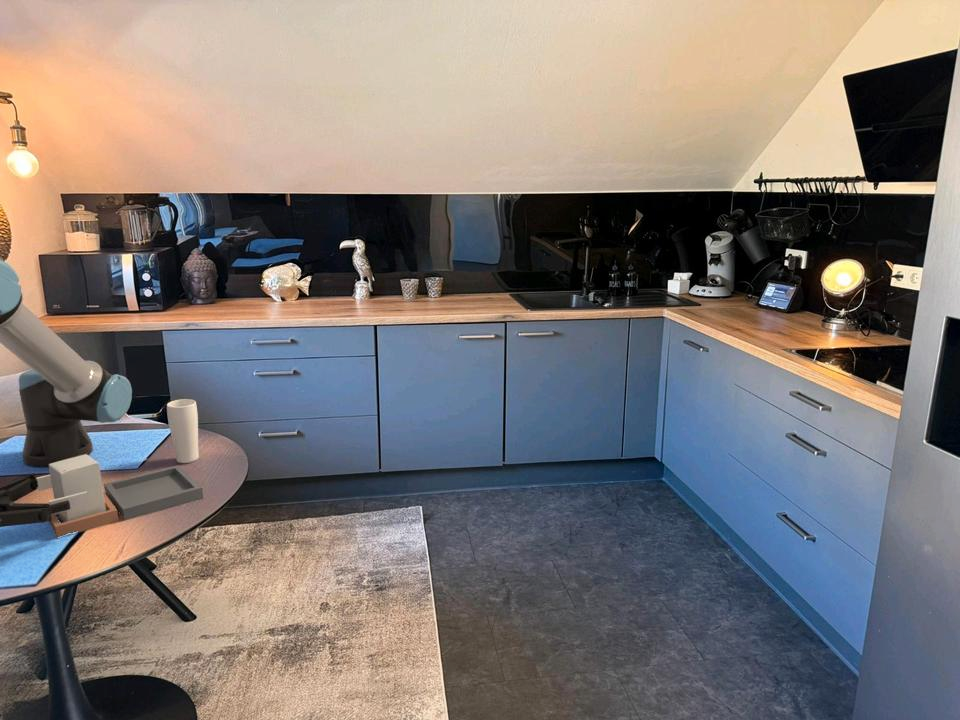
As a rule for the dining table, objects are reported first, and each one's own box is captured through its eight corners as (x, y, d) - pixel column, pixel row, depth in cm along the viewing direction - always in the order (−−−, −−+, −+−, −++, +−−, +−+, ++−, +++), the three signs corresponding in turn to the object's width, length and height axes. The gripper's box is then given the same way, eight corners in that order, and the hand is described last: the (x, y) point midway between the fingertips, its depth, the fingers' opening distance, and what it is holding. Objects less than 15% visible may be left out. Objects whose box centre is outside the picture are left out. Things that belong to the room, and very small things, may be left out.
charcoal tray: (105, 494, 152) (103, 483, 152) (179, 474, 162) (178, 465, 162) (124, 520, 141) (122, 509, 140) (203, 497, 151) (202, 487, 150)
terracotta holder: (46, 518, 141) (44, 507, 141) (105, 502, 148) (103, 491, 148) (57, 538, 133) (55, 527, 133) (118, 521, 140) (117, 510, 140)
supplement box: (108, 519, 141) (100, 462, 138) (68, 532, 136) (58, 473, 133) (95, 508, 146) (87, 452, 143) (56, 520, 141) (47, 463, 137)
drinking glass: (191, 466, 167) (185, 408, 163) (167, 464, 168) (160, 406, 165) (207, 455, 174) (201, 399, 170) (183, 453, 175) (177, 398, 171)
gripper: (-51, 512, 136) (70, 483, 149) (-40, 565, 118) (97, 526, 131) (-58, 477, 134) (65, 451, 147) (-49, 525, 116) (91, 490, 129)
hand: (80, 486), depth 139 cm, fingers open, 13 cm apart
